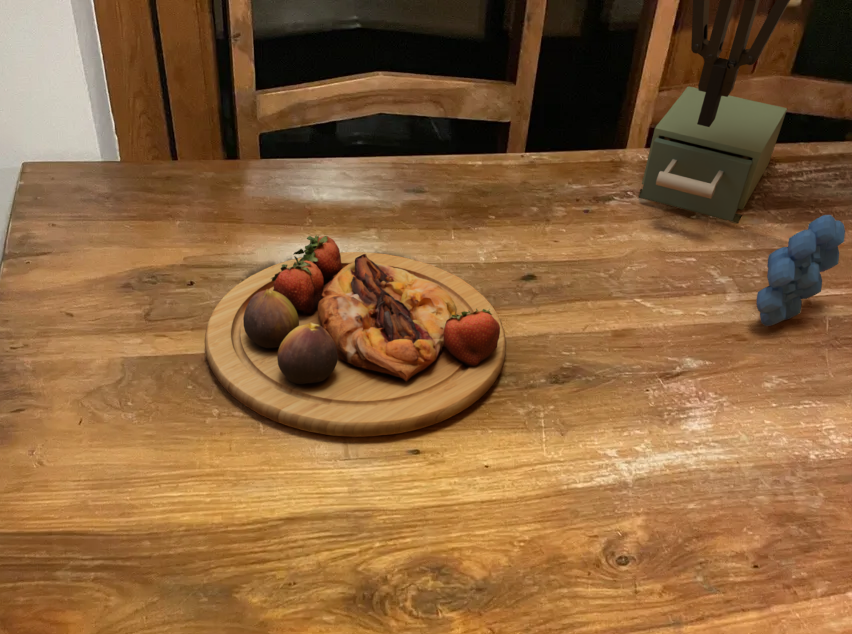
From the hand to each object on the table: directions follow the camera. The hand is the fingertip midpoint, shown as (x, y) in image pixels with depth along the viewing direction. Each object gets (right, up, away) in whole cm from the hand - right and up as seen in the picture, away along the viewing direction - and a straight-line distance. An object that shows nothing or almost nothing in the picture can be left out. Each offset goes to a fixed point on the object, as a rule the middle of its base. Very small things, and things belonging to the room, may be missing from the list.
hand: (706, 121), depth 112 cm
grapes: (+7, -24, -4) cm, 26 cm away
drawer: (+3, -3, +13) cm, 14 cm away
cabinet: (+5, 0, +17) cm, 17 cm away
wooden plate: (-41, -30, -11) cm, 52 cm away
